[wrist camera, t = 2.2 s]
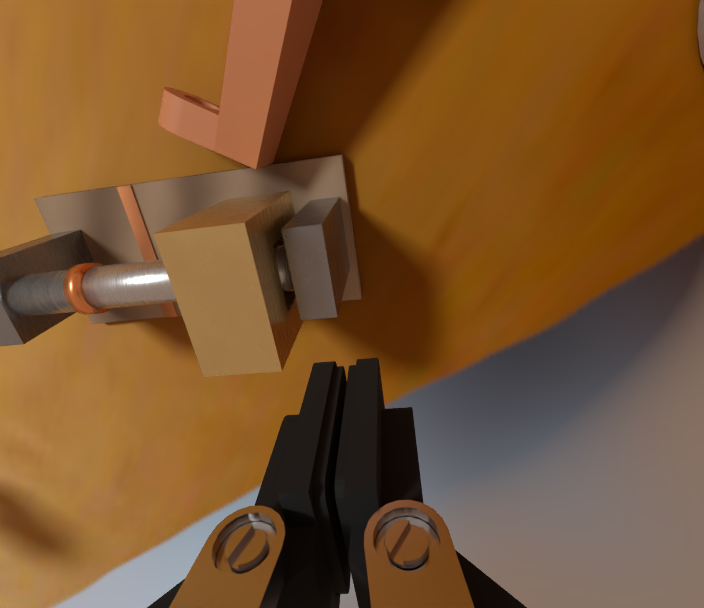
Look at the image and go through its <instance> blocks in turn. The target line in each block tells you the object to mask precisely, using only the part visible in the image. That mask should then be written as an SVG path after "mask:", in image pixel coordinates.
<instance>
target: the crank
mask: <svg viewBox="0 0 704 608" xmlns="http://www.w3.org/2000/svg"><path fill="white" fill-rule="evenodd" d="M322 2H323V0H234V5H233V13H232V20H231V28H230V35H229V42H228V50H227V57H226V65H225V72H224V80H223V87H222V95H221V102H220V106H217V105H215V104H213V103H211V102H209V101H206V100H204V99H202V98H200V97H197V96H194V95H192V94H189V93H186V92H183V91H180V90H176V89H173V88H168V87H165V88H164V92H163V98H162V104H161V110H160V116H159V122H158V123H159V125H160V126H162V127H163V128H165V129H166V130H168V131H170V132H172V133H174V134H176V135H178V136H180V137H183V138H185V139H187V140H190V141H192V142H194V143H196V144H199V145H201V146H203V147H206V148H208V149H210V150H212V151H215V152H217V153H219V154H222V155H224V156H226V157H228V158H231V159H233V160H235V161H238V162H240V163H242V164H244V165H247V166H249V167H251V168H254V169H259V168H262V167H264V166H267V165H270V164H273V163H274V160H275V156H276V153H277V150H278V146H279V143H280V140H281V137H282V133H283V130H284V127H285V123H286V120H287V117H288V114H289V110H290V107H291V104H292V100H293V97H294V94H295V91H296V87H297V84H298V81H299V77H300V74H301V71H302V68H303V64H304V61H305V58H306V54H307V51H308V48H309V45H310V41H311V38H312V35H313V31H314V28H315V25H316V22H317V18H318V15H319V12H320V8H321V5H322Z"/></svg>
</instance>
